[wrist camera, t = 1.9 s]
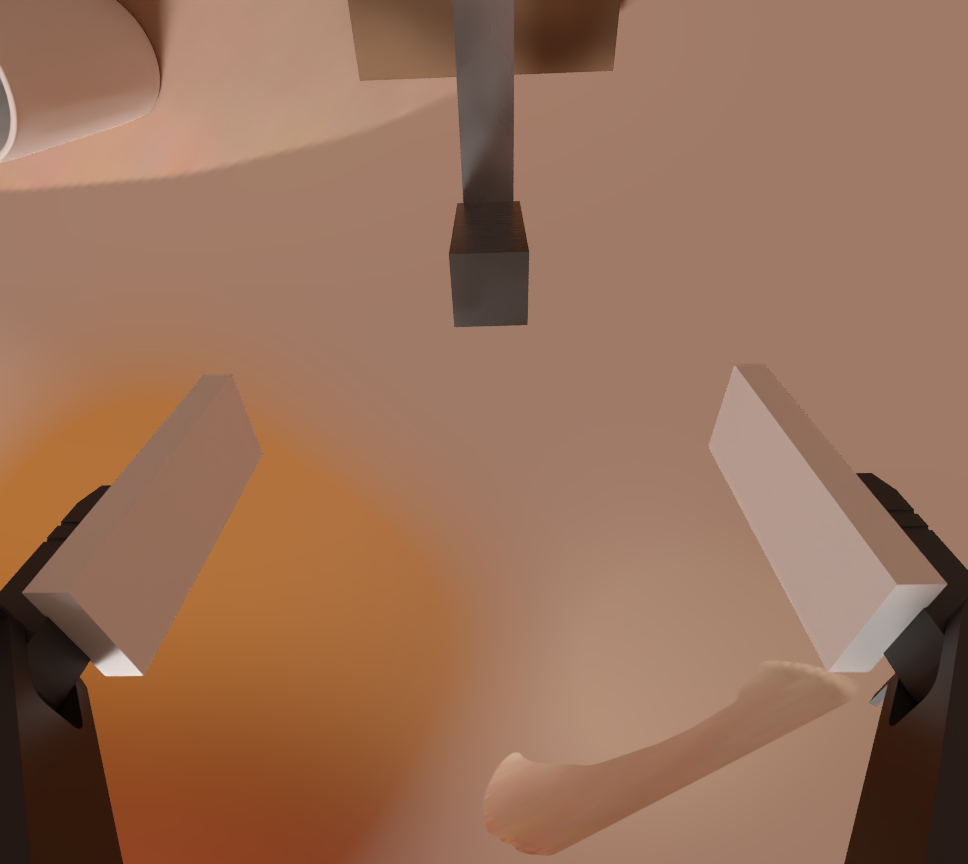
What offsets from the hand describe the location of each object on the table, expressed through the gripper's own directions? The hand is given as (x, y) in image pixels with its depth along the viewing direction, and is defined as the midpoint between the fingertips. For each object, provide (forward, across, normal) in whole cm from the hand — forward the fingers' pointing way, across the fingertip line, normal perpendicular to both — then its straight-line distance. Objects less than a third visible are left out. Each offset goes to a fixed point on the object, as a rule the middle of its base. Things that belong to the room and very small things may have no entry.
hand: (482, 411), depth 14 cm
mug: (+24, -23, +7) cm, 34 cm away
